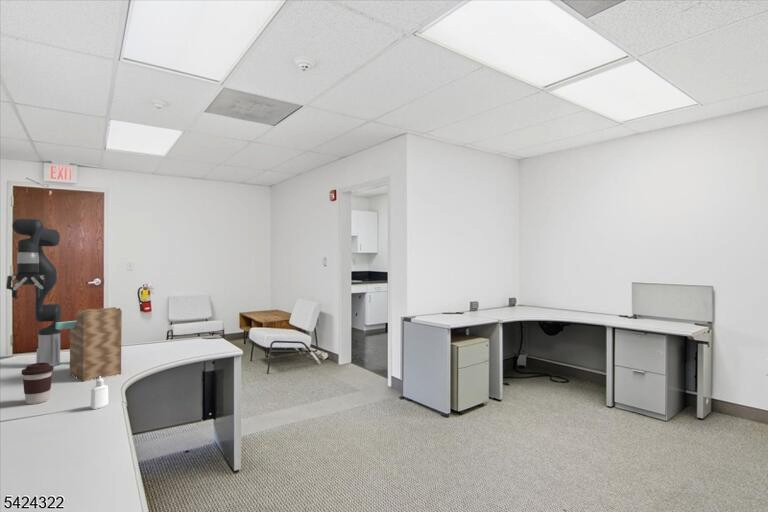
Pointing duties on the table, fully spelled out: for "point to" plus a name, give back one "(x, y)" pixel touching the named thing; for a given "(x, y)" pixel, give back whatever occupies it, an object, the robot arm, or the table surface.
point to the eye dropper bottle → (99, 394)
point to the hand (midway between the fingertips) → (27, 298)
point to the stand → (96, 343)
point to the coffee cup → (37, 382)
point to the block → (66, 325)
